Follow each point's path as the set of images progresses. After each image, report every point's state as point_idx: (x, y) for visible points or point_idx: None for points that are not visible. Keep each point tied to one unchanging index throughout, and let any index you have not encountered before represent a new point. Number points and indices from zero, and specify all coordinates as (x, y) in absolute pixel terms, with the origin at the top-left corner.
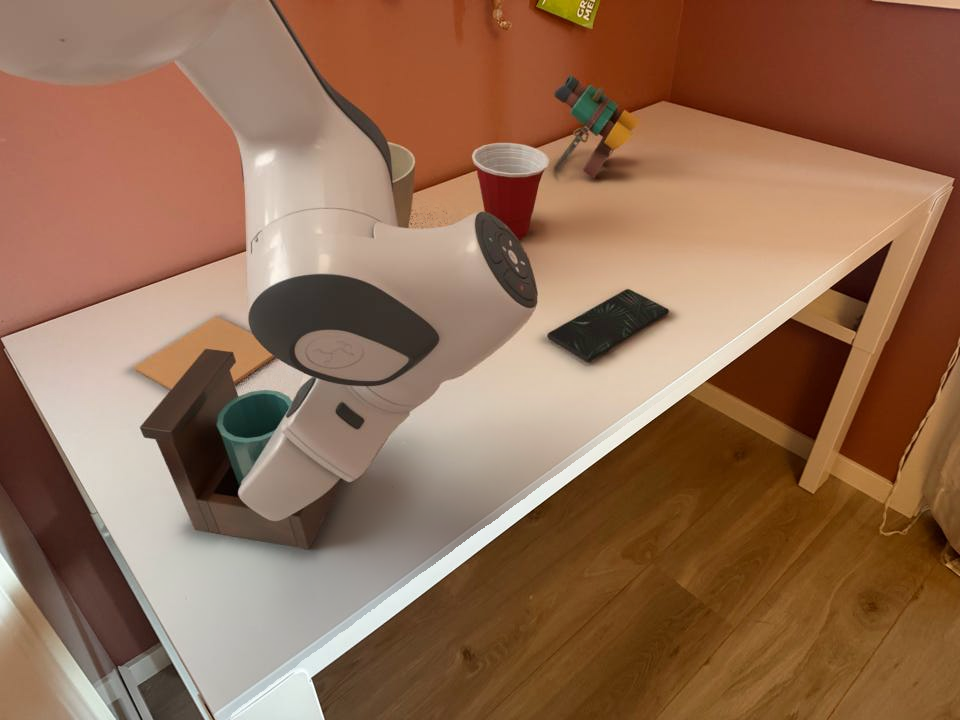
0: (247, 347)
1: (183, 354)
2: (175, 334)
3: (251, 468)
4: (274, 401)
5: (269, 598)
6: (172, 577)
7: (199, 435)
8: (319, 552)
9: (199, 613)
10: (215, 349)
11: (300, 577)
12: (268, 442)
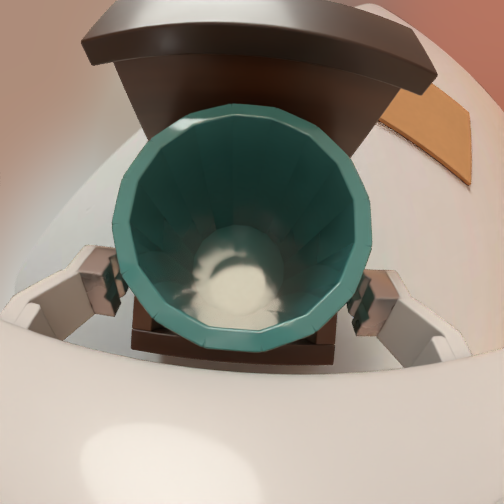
0: (457, 146)
1: None
2: (437, 83)
3: (109, 257)
4: (343, 238)
5: None
6: (112, 181)
7: (204, 99)
8: (154, 354)
9: (71, 232)
10: (441, 115)
11: (116, 338)
12: (5, 348)
